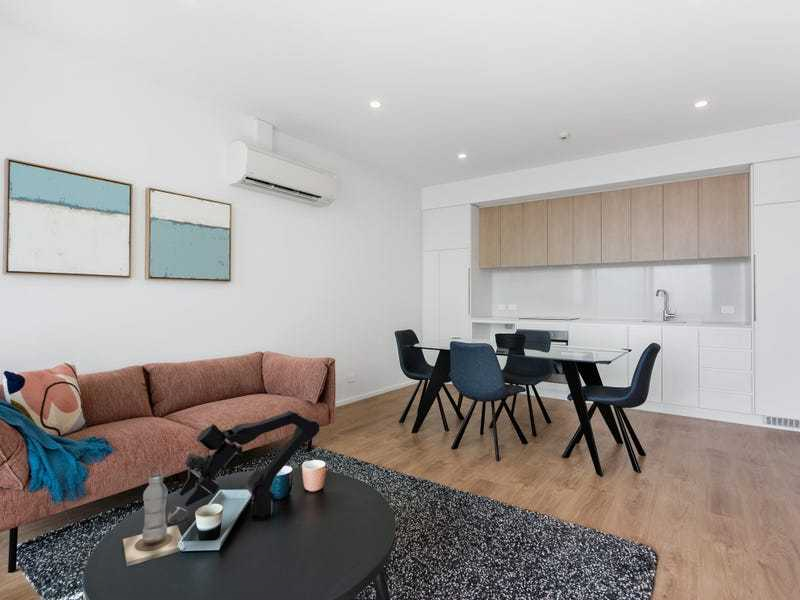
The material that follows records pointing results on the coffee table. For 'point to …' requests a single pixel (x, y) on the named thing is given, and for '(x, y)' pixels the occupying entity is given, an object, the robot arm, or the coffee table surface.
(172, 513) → the wristwatch
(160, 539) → the plastic bottle
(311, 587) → the coffee table surface
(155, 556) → the ash board
